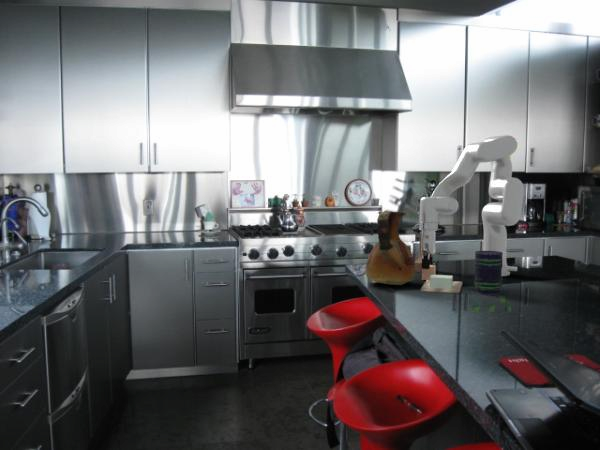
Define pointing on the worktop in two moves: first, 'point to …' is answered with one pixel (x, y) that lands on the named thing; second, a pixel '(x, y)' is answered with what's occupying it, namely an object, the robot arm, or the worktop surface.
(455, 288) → the build board
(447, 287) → the sage base brick
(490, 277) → the storage jar
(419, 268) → the wooden block
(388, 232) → the ceramic pitcher
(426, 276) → the terracotta brick
